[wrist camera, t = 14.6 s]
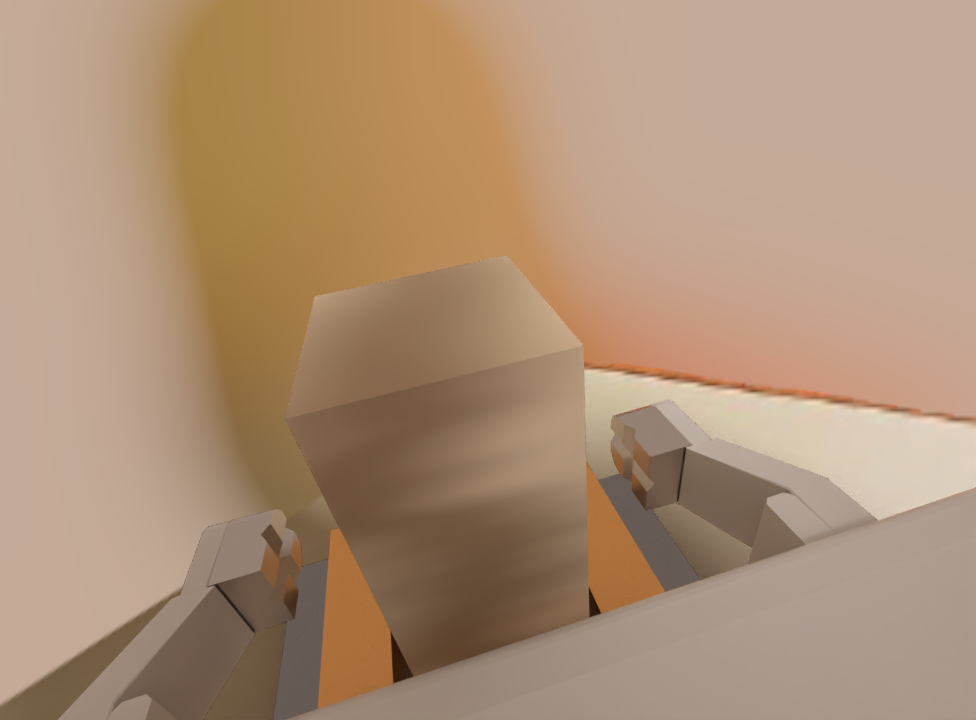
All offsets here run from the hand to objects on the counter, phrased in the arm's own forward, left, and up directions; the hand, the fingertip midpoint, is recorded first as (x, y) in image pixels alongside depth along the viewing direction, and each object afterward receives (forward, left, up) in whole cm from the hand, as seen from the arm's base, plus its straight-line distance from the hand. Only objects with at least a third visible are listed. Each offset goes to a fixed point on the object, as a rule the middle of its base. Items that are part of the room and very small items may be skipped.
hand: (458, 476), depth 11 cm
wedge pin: (0, +1, -9) cm, 9 cm away
